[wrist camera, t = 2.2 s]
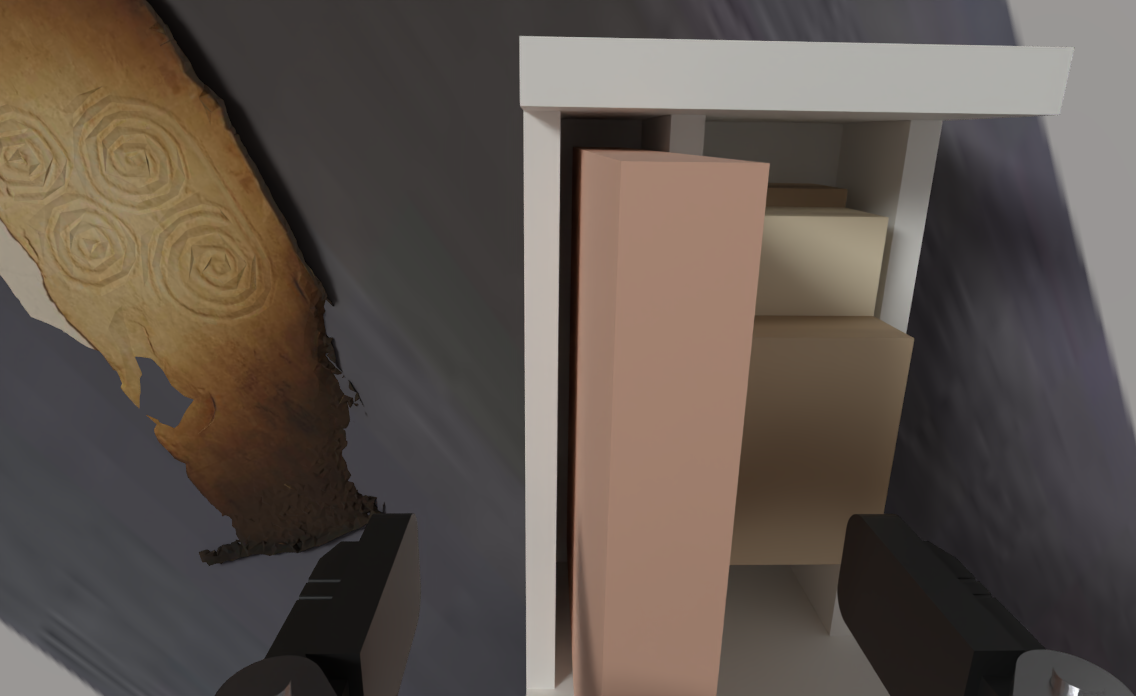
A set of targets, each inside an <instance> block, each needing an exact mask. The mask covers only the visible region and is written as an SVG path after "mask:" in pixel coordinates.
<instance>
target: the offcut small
mask: <svg viewBox="0 0 1136 696" xmlns="http://www.w3.org/2000/svg"><path fill="white" fill-rule="evenodd" d="M913 343H914V338H913V337H911V336H909V335H907V334H906V333H904V332H902V331H900V330H898V329H896V328H894V327H893V326H891V325H889V324H887V323H885V322H883V321H882V320H880V319H878V318H876V317H874V316H777V315H755V316H754V326H753V336H752V346H751V356H750V366H749V376H748V386H747V396H746V406H745V416H744V426H743V436H742V446H741V455H740V465H739V475H738V485H737V495H736V505H735V515H734V525H733V535H732V545H731V555H730V565H822V564H841V560H842V553H843V547H844V540H845V534H846V527H847V523H848V520H849V518H850V517H851V516H852V515H853V514H884V508H885V502H886V497H887V491H888V485H889V480H890V474H891V468H892V463H893V457H894V451H895V446H896V440H897V434H898V428H899V423H900V417H901V411H902V406H903V400H904V394H905V389H906V383H907V377H908V372H909V366H910V360H911V355H912V349H913Z"/></svg>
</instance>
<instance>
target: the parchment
mask: <svg viewBox="0 0 1136 696" xmlns="http://www.w3.org/2000/svg"><path fill="white" fill-rule="evenodd" d="M0 275H1V276H2V277H3V279H4V280H5V281H6V283H7V284H8V286H9V287H10V288H11V290H12V292H13V293H14V295H15V296H16V297H17V298H18V299H19V300H20V302H21V304H22V305H23V307H24V308H25V309H26V310H27V312H28V313H29V315H30V316H31V317H33V318H35V319H38V320H41V321H43V322H46V323H48V324H50V325H52V326H55V327H57V328H59V329H62V330H63V332H66V333H68V334H69V335H70V336H71V337H73V338H74V339H76V340H77V341H79V342H80V343H82V344H83V345H85V346H87V347H89V348H92V349H95V350H97V351H100V352H101V353H102V354H103V356H104V357H105V359H106V360H107V361H108V363H109V364H110V366H111V367H112V368H113V370H116V371H117V372H118V374H119V377H120V379H121V382H122V386H121V389H122V390H123V391H124V393H125V394H126V395H127V396H128V397H129V398H130V399H131V400H132V402H133V403H134V404H135V405H136V406H137V407H138V408H139V397H140V377H141V375H142V373H141V371H140V368H139V366H138V364H137V361H136V359H135V356H138V357H146V358H152V359H153V360H154V361H155V362H156V364H157V365H158V366H159V367H160V368H161V369H162V370H163V371H164V373H165V375H166V376H167V378H168V380H169V382H170V383H171V385H172V386H173V387H174V388H175V389H177V390H178V391H179V392H180V393H181V394H182V395H184V396H185V397H188V398H191V399H194V401H193V402H192V403H191V405H190V406H189V407H188V409H187V410H186V412H185V414H184V416H183V418H182V420H181V422H180V424H179V425H178V426H177V427H175V428H173V427H170V426H168V425H165V424H162V423H160V422H159V420H157V419H154V418H152V417H150V416H148V415H147V416H148V417H149V418H150V419H152V420H153V421H154V422H155V423H156V424H157V426H156V427H155V429H154V432H155V435H156V437H157V439H158V441H159V442H160V444H162V445H163V446H164V447H165V448H166V449H167V450H168V451H169V452H170V454H171V455H172V456H173V457H174V458H175V459H177V460H178V461H180V462H183V463H186V472H187V475H188V478H189V479H190V480H191V482H192V483H193V484H194V485H195V486H196V487H197V489H198V490H199V491H200V492H201V494H202V495H203V496H204V497H206V498H207V499H208V501H209V502H210V503H211V504H212V505H213V506H215V508H216V509H218V510H219V511H220V512H221V513H222V516H224V515H227V516H229V517H230V518H231V519H232V526H233V527H234V528H235V529H236V535H237V537H238V538H239V540H236V541H235V542H232V543H231V544H226V545H222V547H221V546H220V547H219V548H218V550H217V552H216V551H215V550H214V551H212V552H210V551H209V550H204V551H201V552H199V554H200V557H201V560H202V562H207V564H208V565H209V566H210V565H213V564H216V563H220V564H222V563H223V562H224V561H227V560H230V561H233V560H235V559H238V558H240V557H247V556H250V555H252V554H265V555H269V556H271V555H274V554H276V553H281V552H296V553H299V552H302V551H304V550H306V549H309V548H311V547H314V546H320V545H322V544H325V543H327V542H329V541H331V540H333V539H335V538H337V537H339V536H341V535H344V534H346V533H348V532H350V531H352V530H356V529H358V528H360V527H362V526H364V525H365V524H367V523H368V522H369V520H370V518H371V516H372V515H373V514H383V513H381V512H380V511H378V510H377V507H376V506H374V503H375V499H377V497H372V496H369V497H368V496H366V495H365V496H362V494H359V493H358V492H357V491H358V490H356V488H355V486H354V483H353V482H349V481H348V479H349V478H350V476H351V474H350V472H349V471H348V469H347V464H346V462H345V460H344V458H343V457H342V450H343V449H344V448H345V447H346V446H347V441H346V433H345V430H343V429H344V428H347V426H348V424H349V422H350V416H349V410H348V404H349V407H351V406H352V404H353V398H350V397H348V396H346V395H344V393H343V392H342V391H341V389H340V386H339V382H338V380H337V379H336V377H335V376H334V374H337V375H338V374H342V372H341V371H339V370H338V369H337V368H335V366H334V365H333V364H332V363H331V362H330V361H329V360H328V358H327V357H326V356H325V354H326V353H328V355H327V356H328V357H329V358H330V360H331V361H333V362H334V363H335V360H336V357H335V354H334V349H333V347H332V344H331V341H332V339H333V338H329V337H327V335H326V334H325V327H324V319H323V314H324V313H325V309H324V303H325V300H327V301H328V302H329V303H330V304H331V305H332V301H329V300H328V299H327V293H326V291H325V289H324V287H323V286H322V283H321V281H320V280H319V279H318V278H317V277H316V276H315V275H314V274H313V271H312V269H311V268H310V267H309V266H308V265H307V264H306V262H305V260H304V258H303V254H302V252H301V250H300V249H299V248H298V246H297V241H296V238H295V237H294V235H293V232H292V231H291V229H290V226H289V225H288V223H287V221H286V219H285V217H284V216H283V214H282V213H281V211H280V210H279V208H278V207H277V205H276V203H275V201H274V199H273V197H272V195H271V193H270V191H269V188H268V186H266V184H265V182H264V180H263V178H262V176H261V175H260V173H259V170H258V168H257V166H256V164H255V163H254V162H253V161H252V159H251V158H250V156H249V155H248V153H247V149H246V148H245V146H244V145H243V144H242V142H241V140H240V137H239V134H237V133H236V131H235V128H234V127H233V126H232V125H231V121H230V119H229V117H228V114H227V111H226V106H225V103H224V100H223V99H221V98H220V97H218V96H217V95H216V94H215V93H214V91H212V90H211V89H210V88H209V87H208V86H207V85H205V84H203V83H202V82H201V81H200V80H199V78H198V77H197V75H196V73H195V72H194V70H193V68H192V66H191V63H190V61H189V60H188V58H187V57H186V56H185V54H184V53H183V52H182V50H181V49H180V48H179V46H178V45H177V42H176V40H175V39H174V38H173V36H172V34H171V31H170V29H169V27H168V25H166V24H164V23H163V21H162V19H161V18H160V17H159V15H158V14H157V13H156V12H155V11H154V9H153V8H152V6H151V5H150V4H149V3H148V2H147V1H146V0H0ZM332 306H333V305H332ZM343 377H344V375H343ZM343 377H342V378H343ZM349 389H350V390H352V391H354V389H353V387H352V385H351V383H350V381H349ZM354 392H355V391H354ZM358 399H359V396H358V393H356V395H355V401H357V400H358ZM360 401H361V400H360ZM347 402H348V404H347ZM361 403H362V402H361ZM354 404H355V403H354ZM357 405H358V404H355V406H357ZM383 506H384V505H383ZM368 512H370V515H369V516H368V514H367V513H368ZM238 542H241V544H239V543H238Z"/></svg>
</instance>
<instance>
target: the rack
mask: <svg viewBox="0 0 1136 696" xmlns="http://www.w3.org/2000/svg"><path fill="white" fill-rule="evenodd" d="M1073 53H1074V47H1034V46H1032V47H1031V46H985V45H935V44H886V43H836V42H786V41H736V40H686V39H636V38H586V37H536V36H520V107H521V108H522V109H523V110H524V287H525V481H526V675H527V691H526V696H574V687H573V666H572V646H571V625H570V604H569V584H568V563H567V483H568V420H569V356H570V293H571V229H572V166H573V147H619V148H633V149H643V150H652V151H661V152H670V153H680V154H689V155H698V156H707V157H717V158H726V159H735V160H744V161H754V162H763V163H770V167H769V177H768V183H809V184H819V185H825V186H831V187H837V188H843V189H848V192H847V199H846V207H845V208H850V209H854V210H859V211H863V212H867V213H872V214H876V215H880V216H885V217H889V219H888V226H887V232H886V239H885V245H884V252H883V258H882V264H881V271H880V277H879V284H878V290H877V297H876V303H875V310H874V317H876V318H878V319H880V320H882V321H883V322H885V323H887V324H889V325H891V326H893V327H894V328H896V329H898V330H900V331H902V332H904V333H906V332H907V326H908V320H909V314H910V308H911V303H912V297H913V291H914V285H915V279H916V274H917V268H918V262H919V256H920V250H921V244H922V239H923V233H924V227H925V221H926V215H927V209H928V204H929V198H930V192H931V186H932V180H933V175H934V169H935V163H936V157H937V151H938V145H939V140H940V134H941V128H942V122H943V120H964V119H985V118H1006V117H1027V116H1048V115H1060V112H1061V107H1062V103H1063V98H1064V93H1065V89H1066V85H1067V80H1068V75H1069V71H1070V67H1071V62H1072V57H1073ZM840 566H841V564H822V565H729V575H728V585H727V595H726V605H725V615H724V625H723V635H722V644H721V654H720V664H719V674H718V684H717V694H716V696H890V695H889V693H888V691H887V690H886V688H885V687H884V685H883V683H882V682H881V680H880V679H879V677H878V675H877V674H876V672H875V670H874V669H873V667H872V666H871V664H870V662H869V661H868V659H867V658H866V656H865V654H864V653H863V651H862V650H861V648H860V646H859V645H858V643H857V641H856V640H855V638H854V637H853V635H852V633H851V632H850V630H849V629H848V627H847V625H846V624H845V622H844V620H843V618H842V615H841V612H840V609H839V604H838V596H837V586H838V579H839V572H840Z"/></svg>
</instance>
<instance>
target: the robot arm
mask: <svg viewBox="0 0 1136 696" xmlns="http://www.w3.org/2000/svg"><path fill="white" fill-rule="evenodd" d="M837 596H838V604H839V609H840V612H841V615H842V618H843V620H844V622H845V624H846V625H847V627H848V629H849V630H850V632H851V633H852V635H853V637H854V638H855V640H856V641H857V643H858V645H859V646H860V648H861V650H862V651H863V653H864V654H865V656H866V658H867V659H868V661H869V662H870V664H871V666H872V667H873V669H874V670H875V672H876V674H877V675H878V677H879V679H880V680H881V682H882V683H883V685H884V687H885V688H886V690H887V691H888V693H889V695H890V696H1134V695H1133V693H1132V692H1131V691H1130V690H1129V689H1128V688H1127V687H1126V686H1125V685H1124V684H1123V683H1122V682H1121V681H1119V680H1118V679H1117V678H1116V677H1114V676H1113V675H1111V674H1110V673H1108V672H1107V671H1105V670H1103V669H1102V668H1100V667H1098V666H1096V665H1094V664H1092V663H1090V662H1088V661H1086V660H1084V659H1081V658H1079V657H1076V656H1073V655H1070V654H1067V653H1063V652H1058V651H1052V650H1046V649H1045V648H1044V647H1043V646H1042V645H1041V644H1040V643H1039V642H1038V641H1037V640H1036V639H1035V638H1034V637H1033V636H1032V635H1031V634H1030V633H1029V632H1028V631H1027V630H1026V629H1025V628H1024V627H1023V626H1022V625H1021V624H1020V622H1019V621H1018V620H1017V619H1016V618H1015V617H1014V616H1013V615H1012V614H1011V613H1010V612H1009V611H1008V610H1007V609H1006V608H1005V607H1004V606H1003V605H1002V604H1001V603H1000V602H999V601H998V600H997V599H996V598H992V597H991V593H990V592H989V591H988V590H987V589H986V588H985V587H984V586H983V585H982V584H981V583H980V582H979V581H975V577H974V576H973V575H972V574H971V573H970V572H969V571H968V570H967V569H966V568H965V567H964V566H963V565H962V564H961V563H960V562H959V561H958V560H957V559H956V558H955V557H953V556H952V555H950V554H948V553H947V552H945V551H943V550H942V549H940V548H938V547H937V546H935V545H934V544H932V543H930V542H929V541H922V540H921V539H920V538H919V537H918V536H917V535H916V534H915V533H914V532H913V530H912V529H911V528H910V527H909V526H908V525H907V524H906V523H905V522H904V521H903V520H902V519H901V518H900V517H899V516H898V515H896V514H853V515H852V516H851V517H850V518H849V520H848V523H847V527H846V534H845V540H844V547H843V553H842V560H841V566H840V572H839V579H838V586H837ZM420 599H421V583H420V565H419V548H418V530H417V520H416V516H415V514H413V513H406V514H373V515H372V516H371V518H370V520H369V522H368V524H367V526H366V528H365V530H364V532H363V534H362V536H361V538H360V541H359V542H340V543H339V544H337V545H336V546H335V547H334V548H333V549H331V550H330V551H329V552H328V553H326V554H325V555H324V556H323V557H321V558H320V559H319V561H318V563H317V565H316V567H315V568H314V570H313V572H312V574H311V576H310V577H309V581H308V583H306V585H305V586H304V588H303V590H302V592H301V594H300V595H299V600H297V601H296V603H295V604H294V606H293V608H292V610H291V612H290V614H289V615H288V617H287V619H286V621H285V623H284V624H283V626H282V628H281V630H280V632H279V633H278V635H277V637H276V639H275V641H274V642H273V644H272V646H271V648H270V650H269V651H268V653H267V655H266V657H265V659H263V660H261V661H258V662H255V663H253V664H251V665H249V666H247V667H245V668H243V669H242V670H240V671H238V672H237V673H236V674H234V675H233V676H232V677H230V678H229V679H228V680H227V681H226V682H225V683H224V684H223V685H222V686H221V687H220V689H219V690H218V691H217V693H216V695H215V696H398V692H399V688H400V685H401V681H402V677H403V674H404V670H405V666H406V663H407V659H408V655H409V652H410V648H411V645H412V641H413V637H414V634H415V630H416V626H417V622H418V617H419V611H420Z"/></svg>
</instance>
